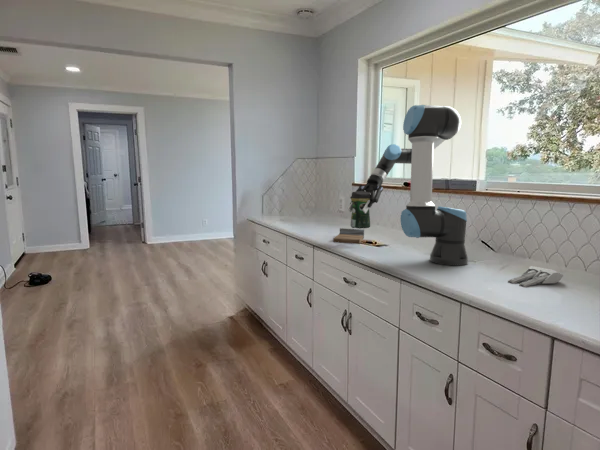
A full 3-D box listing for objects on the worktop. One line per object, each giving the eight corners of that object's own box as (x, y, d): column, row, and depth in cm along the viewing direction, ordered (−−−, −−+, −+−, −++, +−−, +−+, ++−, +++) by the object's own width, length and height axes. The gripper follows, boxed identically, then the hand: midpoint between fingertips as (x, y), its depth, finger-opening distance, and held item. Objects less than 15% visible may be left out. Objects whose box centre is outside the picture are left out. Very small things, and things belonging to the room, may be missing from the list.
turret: (502, 287, 134) (502, 274, 133) (540, 274, 141) (540, 262, 140) (529, 295, 125) (529, 282, 124) (568, 281, 132) (568, 268, 131)
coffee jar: (365, 226, 198) (366, 191, 196) (372, 228, 190) (373, 191, 188) (348, 227, 195) (349, 190, 193) (354, 229, 187) (355, 191, 185)
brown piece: (359, 243, 200) (359, 234, 200) (333, 242, 204) (333, 232, 204) (364, 238, 219) (364, 229, 218) (340, 236, 223) (340, 228, 222)
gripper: (396, 184, 193) (377, 217, 184) (363, 183, 208) (343, 214, 199) (391, 173, 188) (371, 207, 179) (357, 173, 204) (337, 204, 195)
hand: (356, 210), depth 189 cm, fingers closed on coffee jar, 9 cm apart
